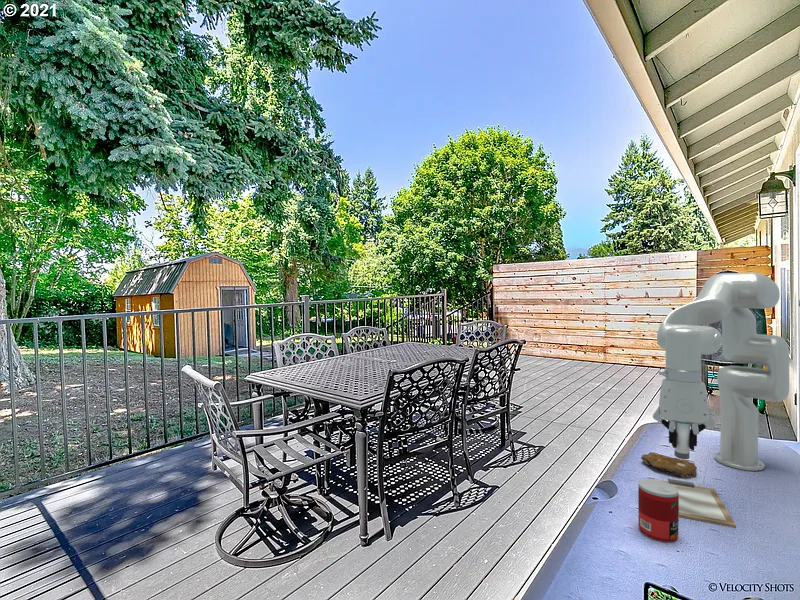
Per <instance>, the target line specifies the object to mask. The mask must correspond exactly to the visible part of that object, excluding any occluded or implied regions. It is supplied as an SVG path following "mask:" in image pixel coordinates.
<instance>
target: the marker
mask: <svg viewBox="0 0 800 600" xmlns="http://www.w3.org/2000/svg"><path fill="white" fill-rule="evenodd" d="M690 429H691V426H690V423H687V422H678V421H676V422H675V432H676V433H677V448H674V450H673V451H674V452H673V453H674V454H673V455H674V456H675V458H677V459H682V460H689V459H690V450H691V449H690Z"/></svg>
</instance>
